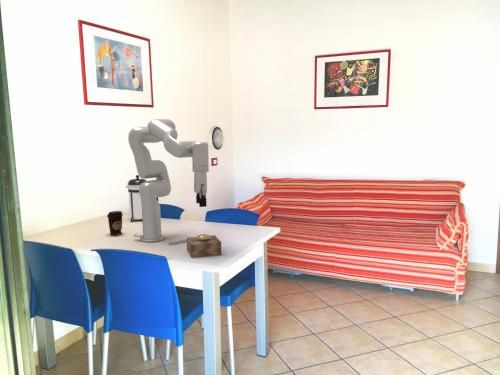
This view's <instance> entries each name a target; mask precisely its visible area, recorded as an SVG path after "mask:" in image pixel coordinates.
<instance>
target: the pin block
mask: <svg viewBox="0 0 500 375" xmlns="http://www.w3.org/2000/svg"><path fill="white" fill-rule="evenodd" d="M186 239H187V242H186V250H187V252H188V254H189V256H190V258H193V259H194V258H201V257H202V258H205V257H212V256H213V257H214V256H222V241H221V240H220V239H219V238H218V237H217V236H216V235H215V234H214V235H212V234H211V236H209V240H208V241H198V239H197V236H189V237H186Z"/></svg>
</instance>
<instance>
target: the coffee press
mask: <svg viewBox="0 0 500 375" xmlns="http://www.w3.org/2000/svg"><path fill="white" fill-rule="evenodd" d="M145 181H147V179H143V178H140V176H139V175H138V174H136V175H135V178H132V179H129V180H128V183H127V184H126V186H125V189H127V192H128V205H129V208H128V209H129V218H130V223H134V221H137V220H142V204H141V198H140V194H139V186H140V184H141V183H143V182H145ZM156 199H157V201H158V202H159V197H158V198H156Z"/></svg>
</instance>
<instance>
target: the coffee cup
mask: <svg viewBox="0 0 500 375" xmlns="http://www.w3.org/2000/svg"><path fill="white" fill-rule="evenodd" d="M123 215H124V214H123V211H120V210H113V211H109V212H108V214H107V216H106V217H107V219H108V220H107V222H108V228H109V233H110V234H109V235H110V236H114V237H115V236H121V235H122V234H123V233H122V229H123Z"/></svg>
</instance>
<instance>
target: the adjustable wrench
mask: <svg viewBox="0 0 500 375" xmlns="http://www.w3.org/2000/svg"><path fill="white" fill-rule="evenodd" d="M208 235H209V236H212V234H208ZM184 242H185V243H187V238H183V239H178V240H174V241H169V242H168V246H175V245H179V243H180V244H183V243H184ZM185 243H184V244H185Z"/></svg>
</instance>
